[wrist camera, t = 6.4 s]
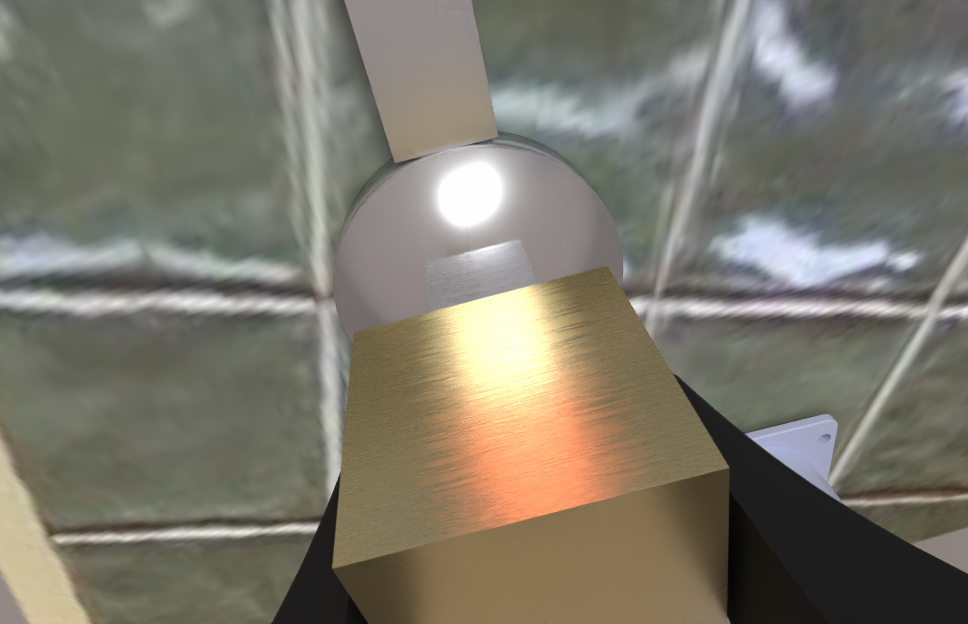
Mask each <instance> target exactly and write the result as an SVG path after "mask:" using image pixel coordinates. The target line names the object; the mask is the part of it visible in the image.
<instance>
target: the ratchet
mask: <svg viewBox="0 0 968 624" xmlns="http://www.w3.org/2000/svg"><path fill="white" fill-rule="evenodd" d="M344 1H345V4H346V7H347V10H348V14H349V17H350V20H351V23H352V27H353V30H354V33H355V36H356V40H357V43H358V46H359V49H360V53H361V56H362V59H363V62H364V65H365V69H366V72H367V75H368V78H369V82H370V85H371V88H372V91H373V95H374V98H375V101H376V104H377V107H378V111H379V114H380V117H381V120H382V124H383V127H384V130H385V133H386V137H387V140H388V143H389V146H390V149H391V153H392V156H393V159H391V160H389V161H388V162H387V163H386V164H385V165H384V166H382V167H381V168H380V169H379V170H378V171H377V172H376V173H374V175H373V176H372V177H371V178H370V179H369V180H368V181H367V183H366V184H365V185H364V186H363V187H362V189H361V190H360V192H359V193H358V195H357V196H356V198H355V199H354V201H353V202H352V204H351V206H350V209H349V211H348V213H347V215H346V217H345V220H344V223H343V227H342V230H341V233H340V238H339V245H338V252H337V258H336V265H335V273H334V297H335V302H336V308H337V312H338V315H339V318H340V321H341V324H342V327H343V329H344V330H345V332H346V334H347V336H348V338H349V340H350V342H351V343H352V344H353V333H354V332H357V331H361V330H364V329H368V328H372V327H376V326H380V325H383V324H387V323H391V322H395V321H399V320H402V319H406V318H410V317H414V316H418V315H421V314H425V313H429V312H433V311H437V310H440V309H444V308H448V307H452V306H456V305H459V304H463V303H467V302H471V301H475V300H478V299H482V298H486V297H490V296H494V295H497V294H501V293H505V292H509V291H513V290H516V289H520V288H524V287H528V286H532V285H536V284H539V283H543V282H547V281H551V280H555V279H558V278H562V277H566V276H570V275H574V274H577V273H581V272H585V271H589V270H593V269H596V268H600V267H604V266H608V267H609V269H610V271H611V272H612V274H613V276H614V277H615V279H616V281H617V282H618V284H619V286H620V287H621V285H622V278H623V252H622V246H621V240H620V237H619V234H618V231H617V228H616V225H615V223H614V221H613V219H612V217H611V215H610V213H609V211H608V209H607V208H606V206H605V205H604V204H603V202H602V201H601V199H600V198H599V197H598V195H597V194H596V193H595V191H594V190H593V188H592V187H591V186H590V184H589V183H588V182H587V180H586V179H585V178H584V176H583V175H582V174H581V173H580V172H579V171H578V170H577V169H576V168H575V167H574V166H573V165H572V164H571V163H570V162H569V161H568V160H567V159H565V158H564V157H563V156H561V155H560V154H559V153H557V152H556V151H554V150H552V149H550V148H549V147H547V146H545V145H543V144H541V143H539V142H537V141H534V140H531V139H528V138H526V137H523V136H519V135H515V134H510V133H506V132H498V131H497V127H496V122H495V117H494V112H493V107H492V102H491V97H490V92H489V87H488V82H487V77H486V72H485V67H484V62H483V57H482V52H481V47H480V42H479V37H478V32H477V27H476V22H475V17H474V12H473V7H472V2H471V0H344Z"/></svg>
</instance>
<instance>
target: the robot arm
mask: <svg viewBox="0 0 968 624" xmlns="http://www.w3.org/2000/svg"><path fill="white" fill-rule="evenodd" d="M673 375H674V377H675V378H676V380H677V382H678V383H679V385H680V387H681V388H682V390H683V392H684V393H685V395H686V397H687V398H688V400H689V401H690V403H691V405H692V406H693V408H694V410H695V411H696V413H697V415H698V416H699V418H700V420H701V421H702V423H703V425H704V426H705V428H706V430H707V431H708V433H709V435H710V436H711V438H712V440H713V441H714V443H715V445H716V446H717V448H718V449H719V451H720V453H721V454H722V456H723V458H724V459H725V461H726V463H727V464H728V466H729V468H730V471H729V532H728V593H727V624H968V574H967V573H965V572H963V571H961V570H959V569H958V568H956V567H954V566H951V565H950V564H948V563H946V562H944V561H942V560H940V559H938V558H936V557H934V556H932V555H931V554H929V553H927V552H924V551H923V550H921V549H919V548H917V547H915V546H913V545H911V544H910V543H908V542H906V541H904V540H903V539H901V538H899V537H897V536H896V535H894V534H892V533H890V532H889V531H887V530H885V529H883V528H882V527H880V526H878V525H877V524H875V523H873V522H871V521H870V520H868V519H866V518H865V517H863V516H862V515H860V514H858V513H857V512H855V511H853V510H852V509H850V508H849V507H847V506H845V505H844V504H843V502H842V501H841V500H840V498H839V497H838V496H837V494H836V493H835V492H834V490H833V489H832V488H831V487H830V485H829V484H828V483H827V481H828V476H829V470H830V465H831V460H832V454H833V449H834V443H835V438H836V433H837V427H838V424H837V422H836V421H835V420H834V418H833V417H832V416H831V415H828V414H823V415H818V416H814V417H810V418H806V419H802V420H798V421H794V422H790V423H786V424H782V425H778V426H774V427H769V428H765V429H761V430H757V431H753V432H749V433H745V434H744V433H743V432H742V431H740V430H739V429H738V428H737V427H736V426H734V425H733V424H732V423H731V422H729V421H728V420H727V419H726V418H725V417H723V416H722V415H721V414H720V413H719V412H718V411H716V410H715V409H714V408H713V407H712V406H710V405H709V404H708V403H707V402H706V401H705V400H704V399H702V398H701V397H700V396H699V395H698V394H697V393H696V392H695V391H693V390H692V389H691V388H690V387H689V386H688V385H687V384H686V383H685V382H684V381H682V380H681V379H680V378H679V377H678V376H676V375H675V374H673ZM340 477H341V472H340V475H339V477H338V480H337V483H336V485H335V488H334V490H333V493H332V495H331V498H330V500H329V503H328V505H327V508H326V510H325V513H324V515H323V517H322V520H321V522H320V525H319V527H318V529H317V531H316V534H315V536H314V538H313V540H312V542H311V545H310V547H309V549H308V551H307V554H306V556H305V558H304V560H303V562H302V565H301V567H300V569H299V571H298V573H297V575H296V577H295V579H294V581H293V583H292V585H291V587H290V589H289V591H288V593H287V595H286V597H285V599H284V601H283V603H282V605H281V607H280V609H279V611H278V612H277V614H276V616H275V618H274V620H273V622H272V623H271V624H368V622H367V621H366V619H365V618H364V616H363V615H362V613H361V612H360V610H359V609H358V607H357V606H356V604H355V603H354V601H353V600H352V598H351V597H350V595H349V593H348V592H347V590H346V589H345V587H344V586H343V584H342V583H341V581H340V580H339V578H338V577H337V575H336V574H335V572H334V571H333V569H332V565H333V554H334V543H335V532H336V521H337V510H338V499H339V488H340Z"/></svg>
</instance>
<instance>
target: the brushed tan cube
mask: <svg viewBox="0 0 968 624" xmlns="http://www.w3.org/2000/svg"><path fill="white" fill-rule="evenodd" d="M729 471H730V468H729V466H728V464H727V463H726V461H725V459H724V458H723V456H722V454H721V453H720V451H719V449H718V448H717V446H716V445H715V443H714V441H713V440H712V438H711V436H710V435H709V433H708V431H707V430H706V428H705V426H704V425H703V423H702V421H701V420H700V418H699V416H698V415H697V413H696V411H695V410H694V408H693V406H692V405H691V403H690V401H689V400H688V398H687V397H686V395H685V393H684V392H683V390H682V388H681V387H680V385H679V383H678V382H677V380H676V378H675V377H674V375H673V373H672V372H671V370H670V368H669V367H668V365H667V363H666V362H665V360H664V358H663V357H662V355H661V353H660V352H659V350H658V349H657V347H656V345H655V344H654V342H653V340H652V339H651V337H650V335H649V334H648V332H647V330H646V329H645V327H644V325H643V324H642V322H641V320H640V319H639V317H638V315H637V314H636V312H635V310H634V309H633V307H632V306H631V304H630V302H629V301H628V299H627V297H626V296H625V294H624V292H623V291H622V289H621V287H620V286H619V284H618V282H617V281H616V279H615V277H614V276H613V274H612V272H611V271H610V269H609V267H608V266H604V267H600V268H596V269H593V270H589V271H585V272H581V273H577V274H574V275H570V276H566V277H562V278H558V279H555V280H551V281H547V282H543V283H539V284H536V285H532V286H528V287H524V288H520V289H516V290H513V291H509V292H505V293H501V294H497V295H494V296H490V297H486V298H482V299H478V300H475V301H471V302H467V303H463V304H459V305H456V306H452V307H448V308H444V309H440V310H437V311H433V312H429V313H425V314H421V315H418V316H414V317H410V318H406V319H402V320H399V321H395V322H391V323H387V324H383V325H380V326H376V327H372V328H368V329H364V330H361V331H357V332H354V333H353V344H352V355H351V366H350V377H349V388H348V399H347V410H346V421H345V432H344V444H343V455H342V466H341V477H340V488H339V499H338V510H337V521H336V532H335V543H334V554H333V565H332V569H333V571H334V572H335V574H336V575H337V577H338V578H339V580H340V581H341V583H342V584H343V586H344V587H345V589H346V590H347V592H348V593H349V595H350V597H351V598H352V600H353V601H354V603H355V604H356V606H357V607H358V609H359V610H360V612H361V613H362V615H363V616H364V618H365V619H366V621H367V622H368V624H727V593H728V532H729Z"/></svg>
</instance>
